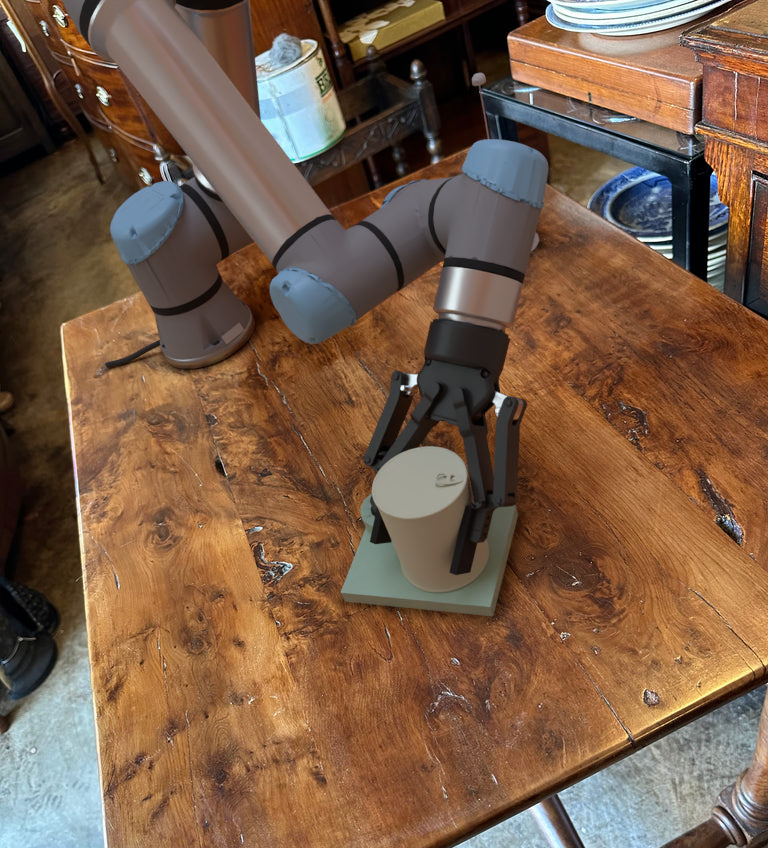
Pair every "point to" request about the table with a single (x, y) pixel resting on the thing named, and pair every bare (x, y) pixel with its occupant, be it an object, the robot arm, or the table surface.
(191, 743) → the table surface
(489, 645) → the table surface
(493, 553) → the scale
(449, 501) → the can
